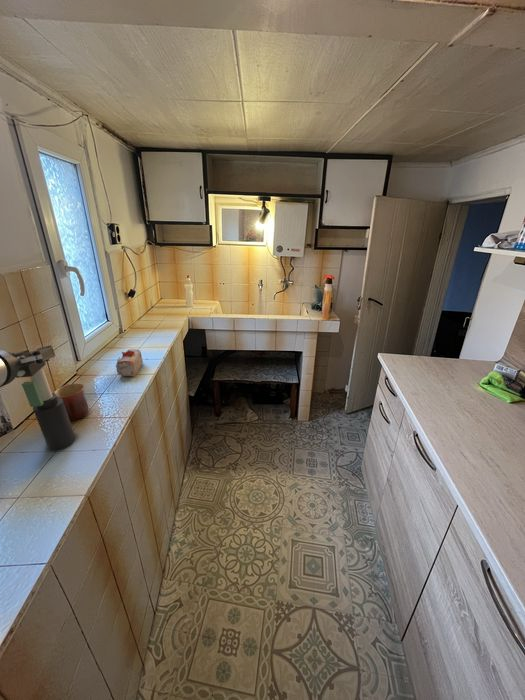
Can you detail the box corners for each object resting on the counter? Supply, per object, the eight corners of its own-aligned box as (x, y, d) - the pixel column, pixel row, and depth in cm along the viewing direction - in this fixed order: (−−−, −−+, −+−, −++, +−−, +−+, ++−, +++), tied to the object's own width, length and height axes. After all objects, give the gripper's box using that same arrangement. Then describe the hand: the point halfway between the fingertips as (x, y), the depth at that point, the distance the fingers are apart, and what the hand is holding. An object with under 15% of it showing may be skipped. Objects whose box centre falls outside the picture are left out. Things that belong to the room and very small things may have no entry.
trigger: (41, 405, 75) (32, 383, 72) (30, 407, 75) (21, 384, 72) (43, 403, 76) (35, 381, 73) (33, 404, 76) (24, 382, 73)
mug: (94, 415, 98) (87, 390, 94) (65, 426, 93) (55, 400, 89) (86, 401, 106) (79, 377, 102) (59, 410, 101) (50, 385, 97)
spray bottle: (66, 455, 81) (33, 367, 70) (38, 458, 80) (1, 370, 68) (79, 433, 90) (52, 351, 78) (54, 435, 89) (23, 354, 77)
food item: (136, 378, 122) (132, 357, 118) (117, 379, 121) (112, 358, 117) (144, 364, 135) (141, 345, 131) (127, 364, 134) (123, 345, 130)
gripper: (-67, 404, 50) (6, 375, 72) (45, 377, 54) (81, 358, 76) (-86, 364, 48) (-5, 347, 70) (31, 340, 53) (72, 331, 75)
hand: (40, 352), depth 73 cm, fingers open, 4 cm apart
